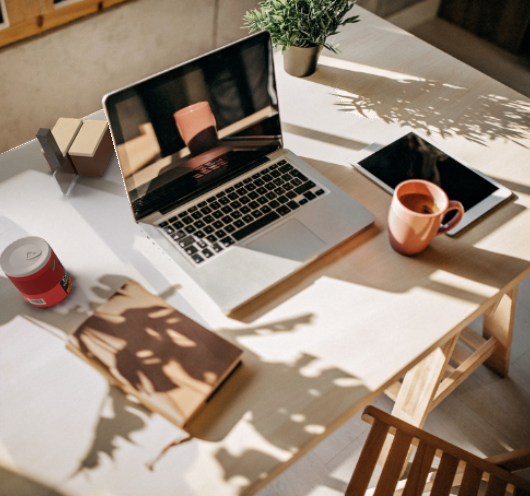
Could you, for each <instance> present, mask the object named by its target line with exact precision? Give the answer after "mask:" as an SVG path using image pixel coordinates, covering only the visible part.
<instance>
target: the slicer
mask: <svg viewBox="0 0 530 496" xmlns="http://www.w3.org/2000/svg"><path fill="white" fill-rule="evenodd" d="M35 138H36V139H37V140H38V143H39V145H40V147H41V149H42V148H43V150H44V152H45V154H46V156H47V158H48V160H49V162H50V164H51V165H52V167H57V168H56V170H55V172H54V173H53V174H52V177H53V179H54V180H55V183H56V185H57V186H58V188H59V190H60V192H61V193H62V196H63V197H66V196H67V194H68V192H69V190H70V188H71V186H72V184H73V182H74V180H75V178H76V176H77V173H76V174H75V172H74V170H73V168H72V166H71V164H70V162H69V160H68V158H67V155H66V154H64V155H63V154H62V152H61V150H60V148H59V146H58V144H57V142H56V140H55V138H54V136H53V134H52V130H51V128H45V127H39V128H38V130H37V132H36V134H35Z"/></svg>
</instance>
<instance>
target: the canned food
mask: <svg viewBox="0 0 530 496" xmlns="http://www.w3.org/2000/svg"><path fill="white" fill-rule="evenodd" d="M0 269H1V271H2V272H3V273H4V275H5V276H6V277H7V279H8V280H9V281H10V282H11V283H12V285H14V287H15V288H16V289H17V290H18V292H20V294H21V295H22V296H23V297H24V299H25V300H27V301H26V302H28V303H29V304H31V305H32V306H34V307H38V308H42V309H43V308H45V309H47V308H52V307H54V306H57V305H59V304H61V303H62V302H63V301H65V299H67V297H68V296H69V295H70V293H71V291H72V288H73V282H72V278H71V276H70V274H69V273H68V271H67V270H66V268H65V266H64V265H63V263H62V261H61V260H60V258H59V257H58V256H57V254H56V253H55V251H54V249H53V248H52V246H51V245H50V244H49V242H48V241H47V240H46V239H44V238H42V237H40V236H34V235H31V236H30V235H29V236H24V237H23V236H22V237H21V238H18V239H16V240H13V241H12V242H10V243H9V244H8V245H7V246H6V247H5V248H4V249H3V250H2V252H1V253H0Z"/></svg>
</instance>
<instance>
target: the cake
mask: <svg viewBox="0 0 530 496" xmlns="http://www.w3.org/2000/svg"><path fill="white" fill-rule="evenodd" d="M107 121H108V120H102V119H101V120H100V119H88V118H87V119H85V120H83V119H82V118H71V117H70V118H69V117H58V120H57V121H56V123H55V125H54V127H53V128H52V130H51V132H52V134H53V136H54V138H55V140H56V142H57V144H58V146H59V148H60V150H61V152H62V154H63V155H64V154H66V155H67V158H68V160H69V162H70V164H71V166H72V168H73V170H74V172H75V174H76V175H77V173H78V175H79V176H86V177H95V178H96V177H97V178H102V177H103V175H104V173H105V171H106V169H107V166H108V165H109V162H110V159H112V155H113V154H114V151H115V149H114V145H113V141H112V137H111V133H110V129H109V125H110V124H109V125H108V122H109V121H108V122H107ZM40 151H41V152H42V155H43V157H44V159H45V161H46V162H47V164H48V166H49V168H50V170H51V172H52V173H53V174H54V172H55V170H56V168H57V167H52V165H51V164H50V162H49V160H48V158H47V156H46V154H45V152H44V150H43V148H42V147H41V149H40Z"/></svg>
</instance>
